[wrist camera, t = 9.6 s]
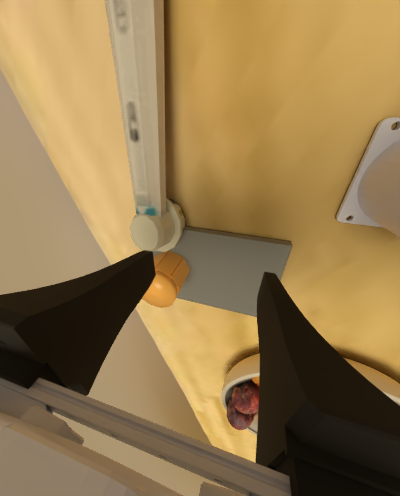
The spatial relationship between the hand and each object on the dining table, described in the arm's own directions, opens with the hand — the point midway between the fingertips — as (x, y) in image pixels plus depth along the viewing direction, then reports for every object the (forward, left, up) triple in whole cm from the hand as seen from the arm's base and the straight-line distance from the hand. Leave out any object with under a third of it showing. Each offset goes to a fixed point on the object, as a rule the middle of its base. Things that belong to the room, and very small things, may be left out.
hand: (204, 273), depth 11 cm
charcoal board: (+2, +8, -10) cm, 13 cm away
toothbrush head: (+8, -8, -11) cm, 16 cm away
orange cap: (+7, +8, -9) cm, 14 cm away
